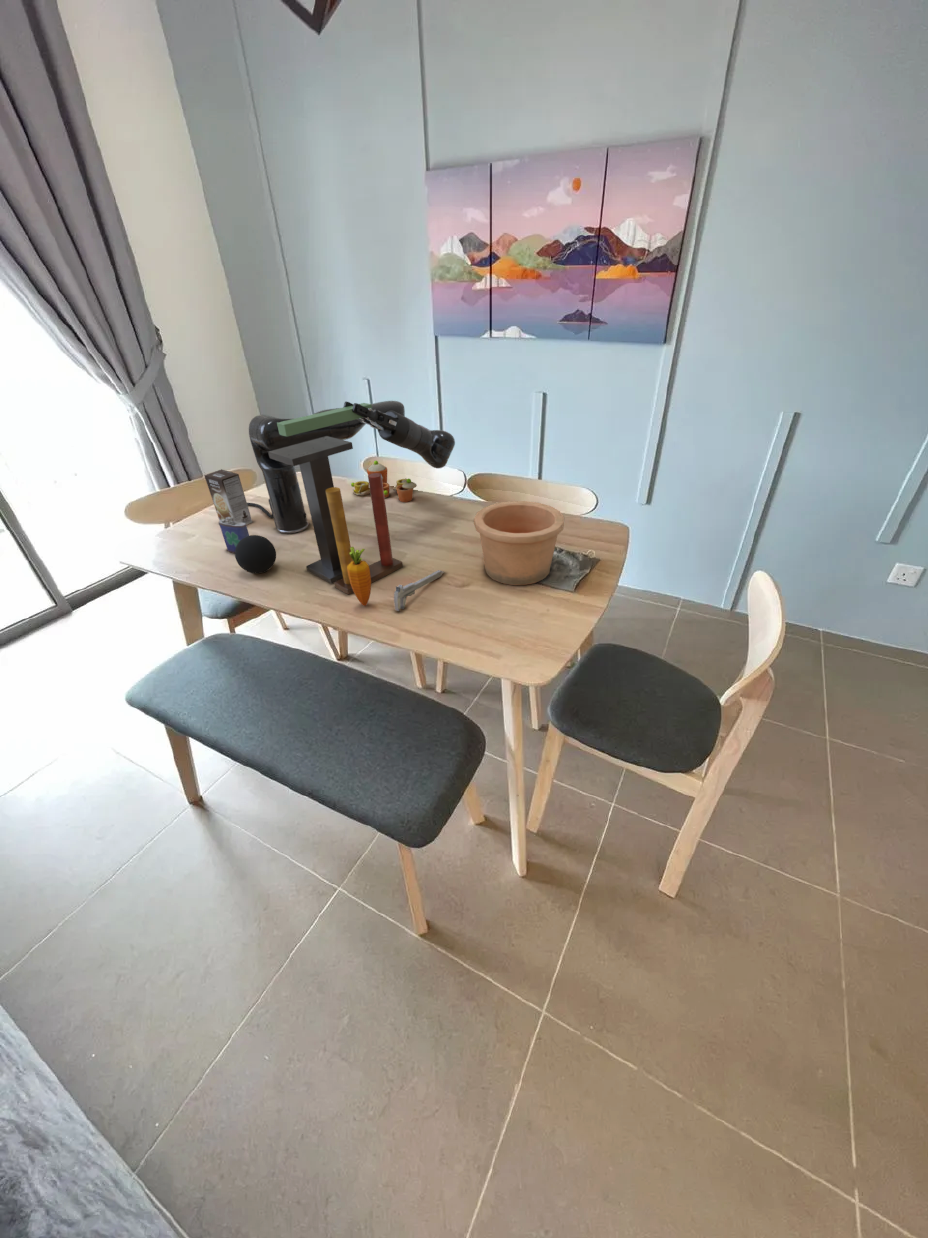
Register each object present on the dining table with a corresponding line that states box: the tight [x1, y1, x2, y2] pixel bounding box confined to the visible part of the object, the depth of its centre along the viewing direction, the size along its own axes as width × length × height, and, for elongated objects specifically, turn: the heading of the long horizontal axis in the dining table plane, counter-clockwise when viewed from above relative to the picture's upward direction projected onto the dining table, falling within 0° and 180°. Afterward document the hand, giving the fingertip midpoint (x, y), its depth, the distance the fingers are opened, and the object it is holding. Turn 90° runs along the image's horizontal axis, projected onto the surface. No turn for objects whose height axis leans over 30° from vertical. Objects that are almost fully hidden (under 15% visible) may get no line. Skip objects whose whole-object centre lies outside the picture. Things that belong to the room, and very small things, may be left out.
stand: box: [268, 436, 354, 585], centre depth 122 cm, size 16×11×32 cm
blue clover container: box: [218, 516, 250, 554], centre depth 139 cm, size 9×3×11 cm, turn 68°
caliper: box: [393, 569, 445, 612], centre depth 118 cm, size 20×1×6 cm, turn 151°
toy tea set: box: [350, 460, 418, 503], centre depth 174 cm, size 26×16×10 cm, turn 63°
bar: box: [277, 402, 373, 437], centre depth 114 cm, size 24×3×2 cm, turn 138°
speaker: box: [234, 534, 277, 574], centre depth 129 cm, size 10×10×10 cm
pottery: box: [473, 500, 565, 586], centre depth 123 cm, size 22×22×14 cm
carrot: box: [347, 546, 372, 607], centre depth 112 cm, size 5×5×15 cm
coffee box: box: [204, 468, 253, 526], centre depth 155 cm, size 9×6×16 cm
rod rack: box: [326, 473, 404, 595], centre depth 120 cm, size 18×6×25 cm, turn 138°
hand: (349, 406), depth 117 cm, fingers closed on bar, 3 cm apart
